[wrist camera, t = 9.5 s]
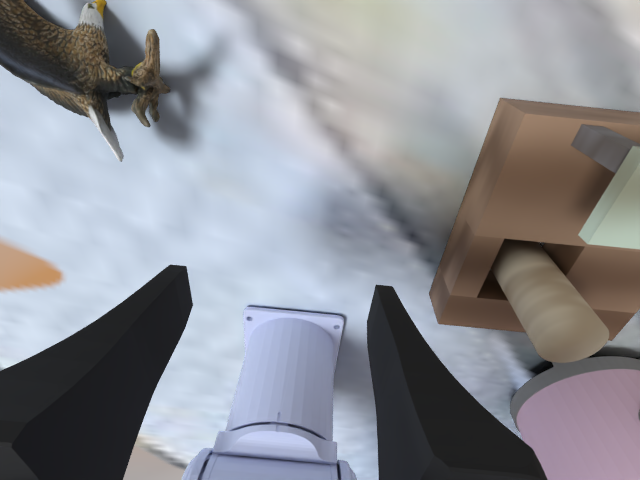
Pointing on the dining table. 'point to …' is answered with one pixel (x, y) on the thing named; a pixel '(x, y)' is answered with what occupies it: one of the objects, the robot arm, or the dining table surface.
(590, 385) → the blender
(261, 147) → the dining table surface
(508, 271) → the peg
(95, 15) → the eagle figurine
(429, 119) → the dining table surface
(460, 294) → the socket deck
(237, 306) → the dining table surface
